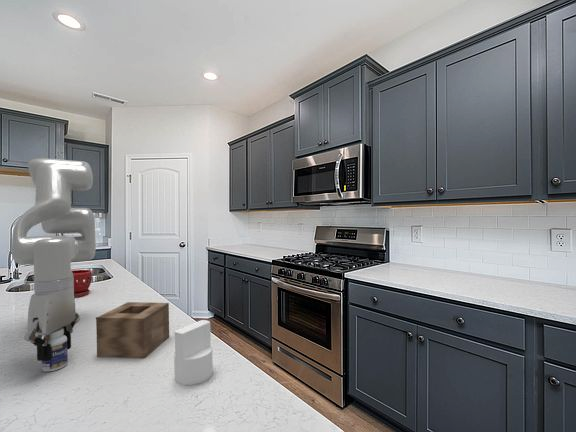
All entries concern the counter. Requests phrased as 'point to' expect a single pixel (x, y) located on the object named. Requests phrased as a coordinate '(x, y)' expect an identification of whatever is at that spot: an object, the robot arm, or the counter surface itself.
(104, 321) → the socket block
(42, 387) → the counter surface
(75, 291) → the plant pot
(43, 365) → the pill bottle
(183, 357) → the cylinder with rectangular tab
